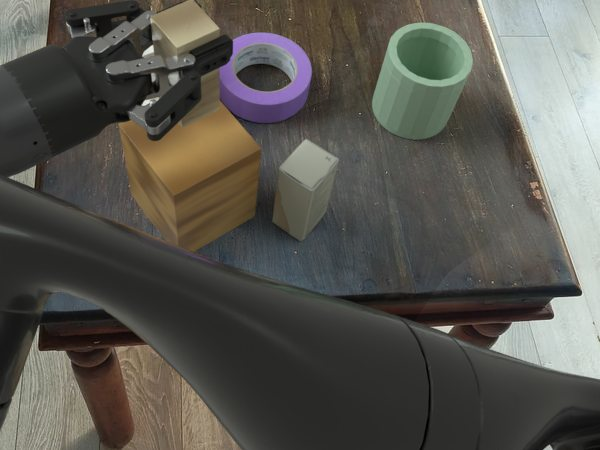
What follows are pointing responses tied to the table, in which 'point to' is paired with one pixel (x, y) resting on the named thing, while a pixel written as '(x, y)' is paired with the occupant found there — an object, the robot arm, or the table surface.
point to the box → (304, 189)
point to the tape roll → (264, 103)
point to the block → (188, 49)
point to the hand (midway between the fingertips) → (213, 27)
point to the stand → (194, 177)
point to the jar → (421, 80)
